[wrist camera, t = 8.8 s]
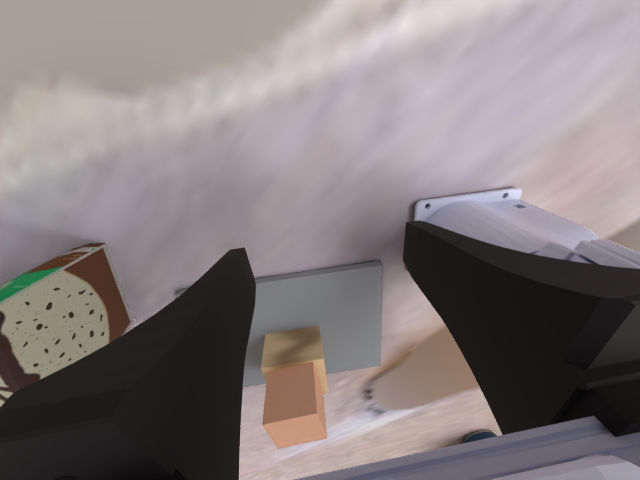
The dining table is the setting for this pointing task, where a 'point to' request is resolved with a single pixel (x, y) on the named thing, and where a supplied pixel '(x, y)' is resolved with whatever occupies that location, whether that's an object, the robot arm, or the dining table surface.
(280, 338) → the oak base block
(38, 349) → the food container
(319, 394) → the terracotta block
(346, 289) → the slate board
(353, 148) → the dining table surface
